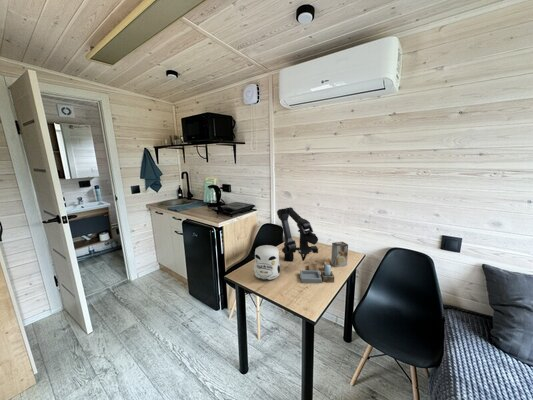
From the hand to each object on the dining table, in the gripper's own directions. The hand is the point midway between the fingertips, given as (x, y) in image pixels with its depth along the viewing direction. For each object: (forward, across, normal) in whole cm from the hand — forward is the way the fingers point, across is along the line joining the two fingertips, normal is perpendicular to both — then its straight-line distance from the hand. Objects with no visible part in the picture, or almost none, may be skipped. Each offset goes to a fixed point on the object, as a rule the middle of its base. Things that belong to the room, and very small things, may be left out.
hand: (303, 260), depth 149 cm
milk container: (+6, -24, -9) cm, 27 cm away
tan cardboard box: (+7, +7, 0) cm, 10 cm away
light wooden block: (+6, +16, 0) cm, 17 cm away
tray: (+6, +4, -11) cm, 13 cm away
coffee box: (+6, +27, +8) cm, 28 cm away
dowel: (+6, +14, -12) cm, 19 cm away
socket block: (+6, +14, -12) cm, 19 cm away
